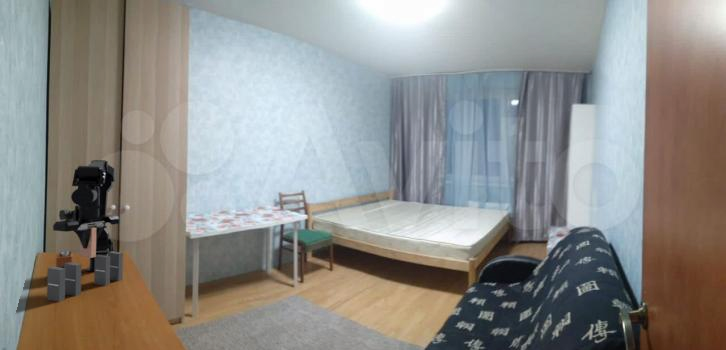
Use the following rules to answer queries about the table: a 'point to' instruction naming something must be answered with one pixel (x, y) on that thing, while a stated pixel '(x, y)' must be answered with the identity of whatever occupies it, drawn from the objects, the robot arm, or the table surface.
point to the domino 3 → (89, 245)
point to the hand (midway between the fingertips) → (88, 247)
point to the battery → (64, 258)
